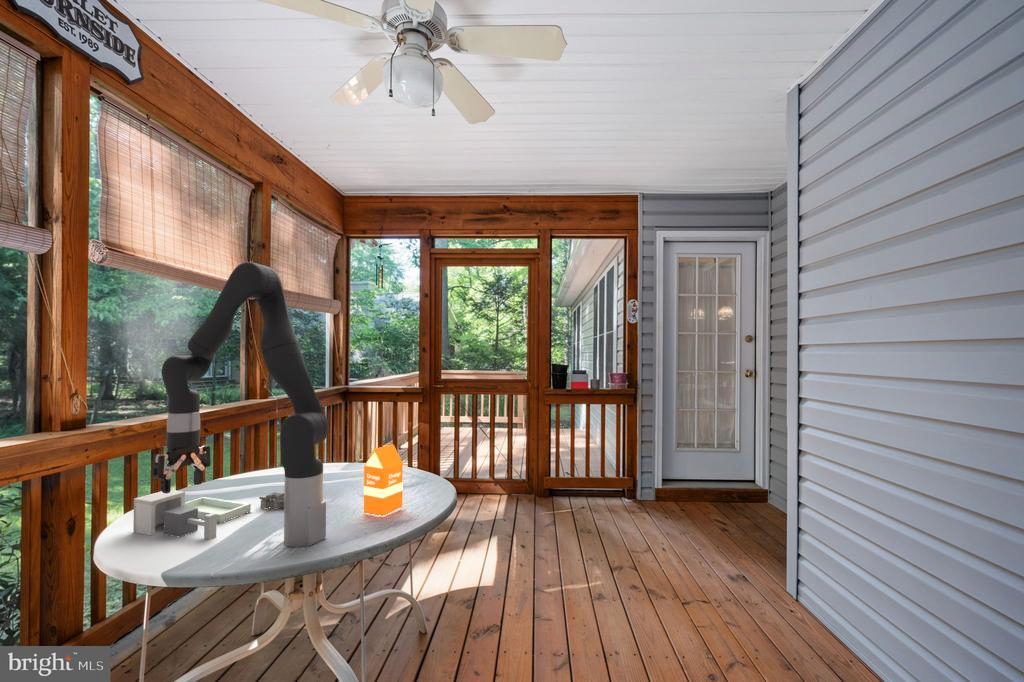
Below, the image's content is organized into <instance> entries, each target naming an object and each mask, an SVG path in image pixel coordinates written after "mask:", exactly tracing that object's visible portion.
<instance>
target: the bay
mask: <svg viewBox="0 0 1024 682" xmlns="http://www.w3.org/2000/svg"><path fill="white" fill-rule="evenodd" d="M185 502H186V492H185V491H181V490H175V489H171V491H170V493H167V494H166V493H163V492H162V491H161V490H160V491H158V492H155V493H150V494H146V495H142V496H140V497H139V496H138V497H135V498H133V529H132V530H133V533H135V534H136V533H137V534H142V535H146V534H147V535H146V536H154V535H155V534H156V526H155V525H157V526H159V524H160V525H162V523H163V524H164V511H168V510H171V509H174V508H177V507H180V506H185Z"/></svg>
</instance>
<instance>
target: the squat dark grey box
mask: <svg viewBox="0 0 1024 682" xmlns="http://www.w3.org/2000/svg"><path fill="white" fill-rule="evenodd" d="M199 526H203V527H204V528H203V538H204V539H205V540H211V539H214V538H216V537H217V523H216V514H214V513H210V514H208V515H205V516H204V520H199V519H198V508H193V507H187V506H180V507H177V508H174V509H171V510H168V511H164V523H163V535H166V534H167V536H171V535H173V537H177V536H179V537H178V538H181V537H183V536H182V535H184V536H186V535H188V533H189V534H191V532H192V533H194V532H197V531H198V530H199ZM196 530H197V531H196ZM185 534H186V535H185ZM180 536H181V537H180Z"/></svg>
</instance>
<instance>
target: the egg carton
mask: <svg viewBox="0 0 1024 682" xmlns="http://www.w3.org/2000/svg"><path fill="white" fill-rule="evenodd" d="M259 500H260V508H261V507H262V508H261V509H263V510H265V509H264V508H268V509H270V508H269V507H274V508H278V509H280V508H279V507H284V492H281V493H280V492H276V491H274V492H272V493H269V494H267V495H265V496H264V497H263V496H260V497H259ZM274 508H273V509H274Z"/></svg>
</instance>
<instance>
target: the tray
mask: <svg viewBox="0 0 1024 682" xmlns="http://www.w3.org/2000/svg"><path fill="white" fill-rule="evenodd" d="M185 506H187V507H193V508H198V519H201V520H204V516H205V515H208V514H210V513H214V514H216V522H217V523H216V524H220V523H221V524H223V523H225V522H224V521H226V522H228V521H230V520H229V519H231V518H234V517H236V518H238V517H237V516H239V517H241V516H240V515H242V514H244V515H246V514H245V513H247V512H250V511H252V508H251V506H252V505H251V503H247V502H241V501H235V500H227V499H226V500H225V499H222V498H220V499H219V498H214V497H208V496H207V497H206V496H201V497H199V498H195V499H192V500H188V501H185ZM250 513H251V512H250ZM247 514H248V513H247ZM242 516H243V515H242ZM234 519H235V518H234ZM227 520H228V521H227ZM231 520H232V519H231ZM222 522H223V523H222Z"/></svg>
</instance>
